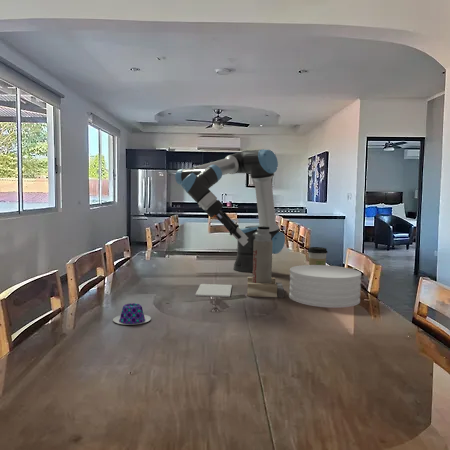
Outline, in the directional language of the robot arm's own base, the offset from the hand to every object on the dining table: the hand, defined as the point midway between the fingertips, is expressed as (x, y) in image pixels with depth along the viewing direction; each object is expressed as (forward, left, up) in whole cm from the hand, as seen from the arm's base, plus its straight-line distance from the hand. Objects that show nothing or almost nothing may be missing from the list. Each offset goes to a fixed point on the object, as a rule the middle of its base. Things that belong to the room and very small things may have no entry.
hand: (246, 242), depth 178 cm
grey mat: (-1, -13, -21) cm, 25 cm away
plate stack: (+5, +32, -22) cm, 39 cm away
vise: (-1, +8, -21) cm, 23 cm away
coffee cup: (-38, +36, -22) cm, 56 cm away
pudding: (+44, -36, -22) cm, 61 cm away
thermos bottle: (-1, +7, -22) cm, 23 cm away
